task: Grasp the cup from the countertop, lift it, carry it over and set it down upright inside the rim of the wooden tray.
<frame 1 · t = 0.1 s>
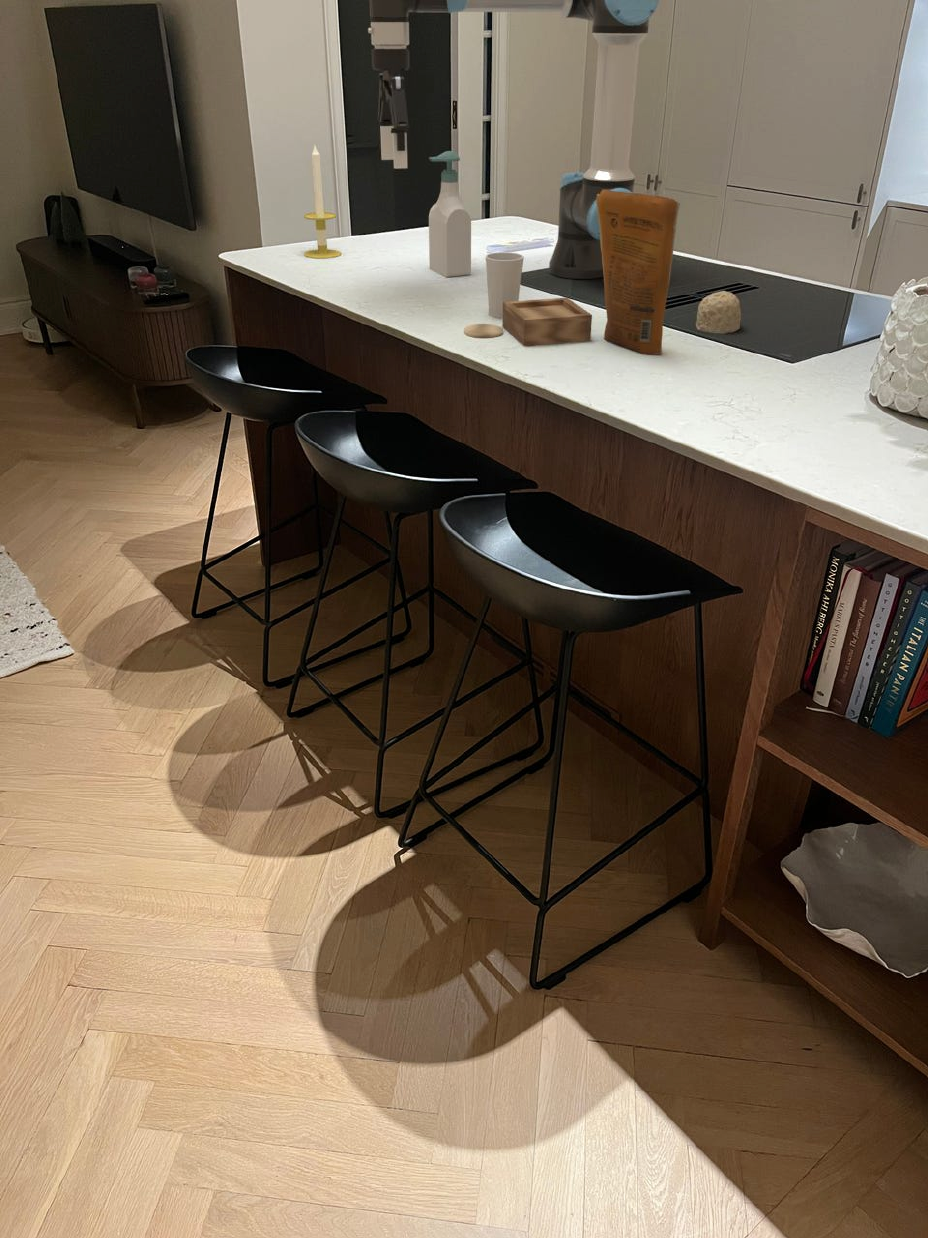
hand: (394, 163, 204), 28 cm above the countertop, fingers open, 13 cm apart
coaster: (483, 332, 196), on the countertop
wooden tray: (545, 333, 196), on the countertop
cup: (503, 315, 208), on the countertop
sponge: (716, 328, 200), on the countertop
soap bottle: (446, 272, 241), on the countertop
candle: (323, 255, 258), on the countertop
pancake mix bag: (628, 346, 189), on the countertop
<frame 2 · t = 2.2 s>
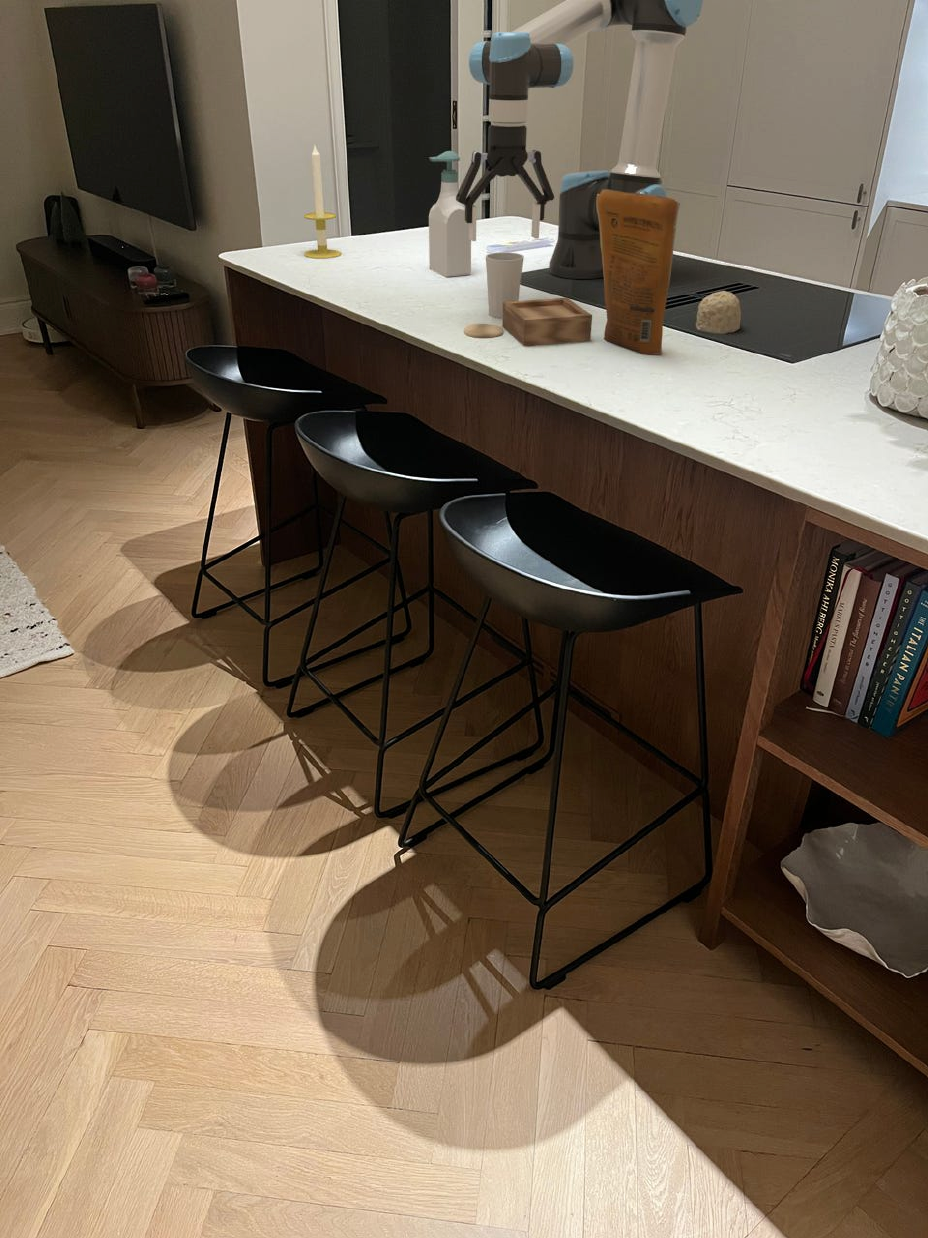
hand: (504, 238, 199), 15 cm above the countertop, fingers open, 13 cm apart
nothing on the countertop moved.
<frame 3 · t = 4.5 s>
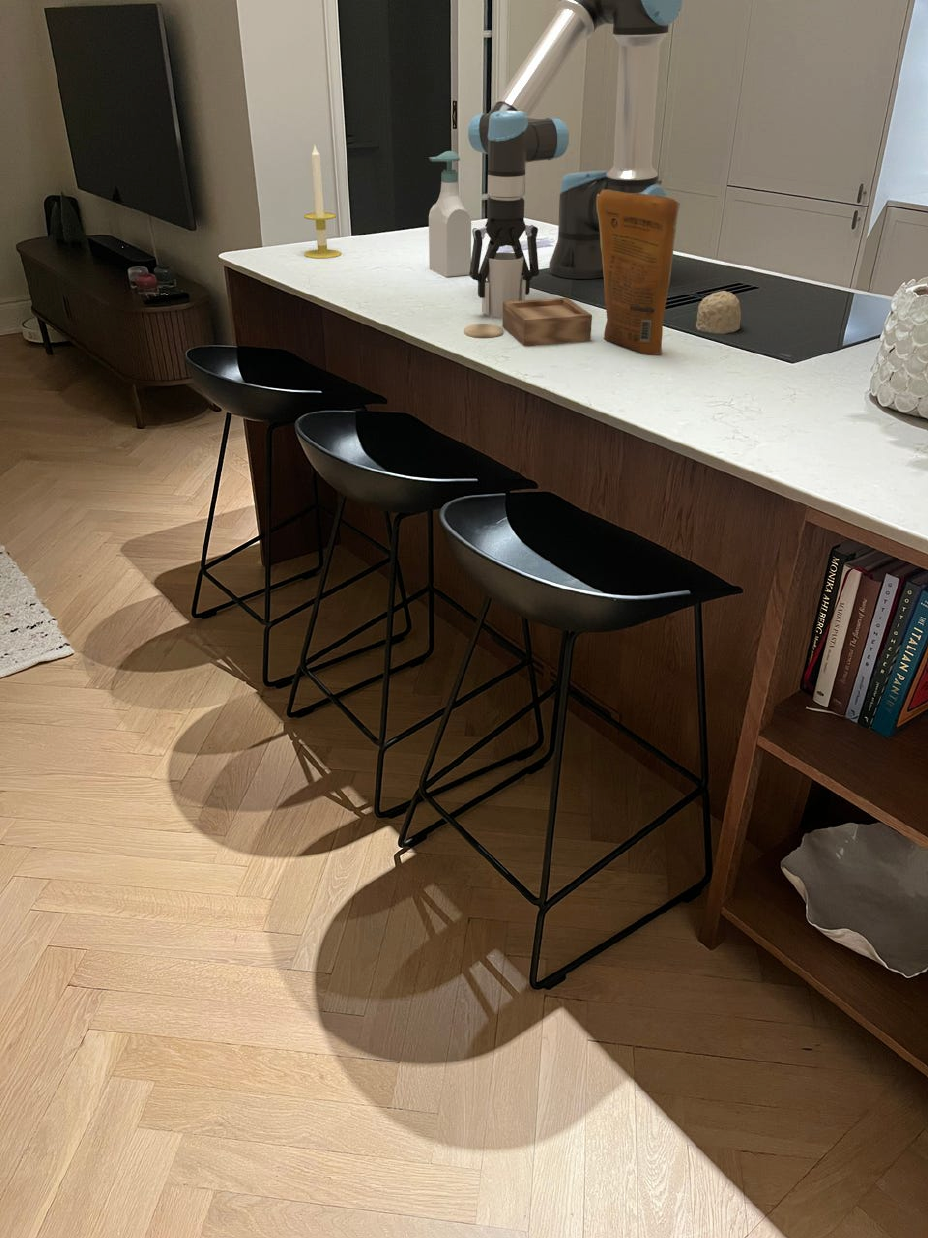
hand: (503, 311, 208), 1 cm above the countertop, fingers closed on cup, 7 cm apart
cup: (503, 315, 208), on the countertop, touching gripper
everything else where it was.
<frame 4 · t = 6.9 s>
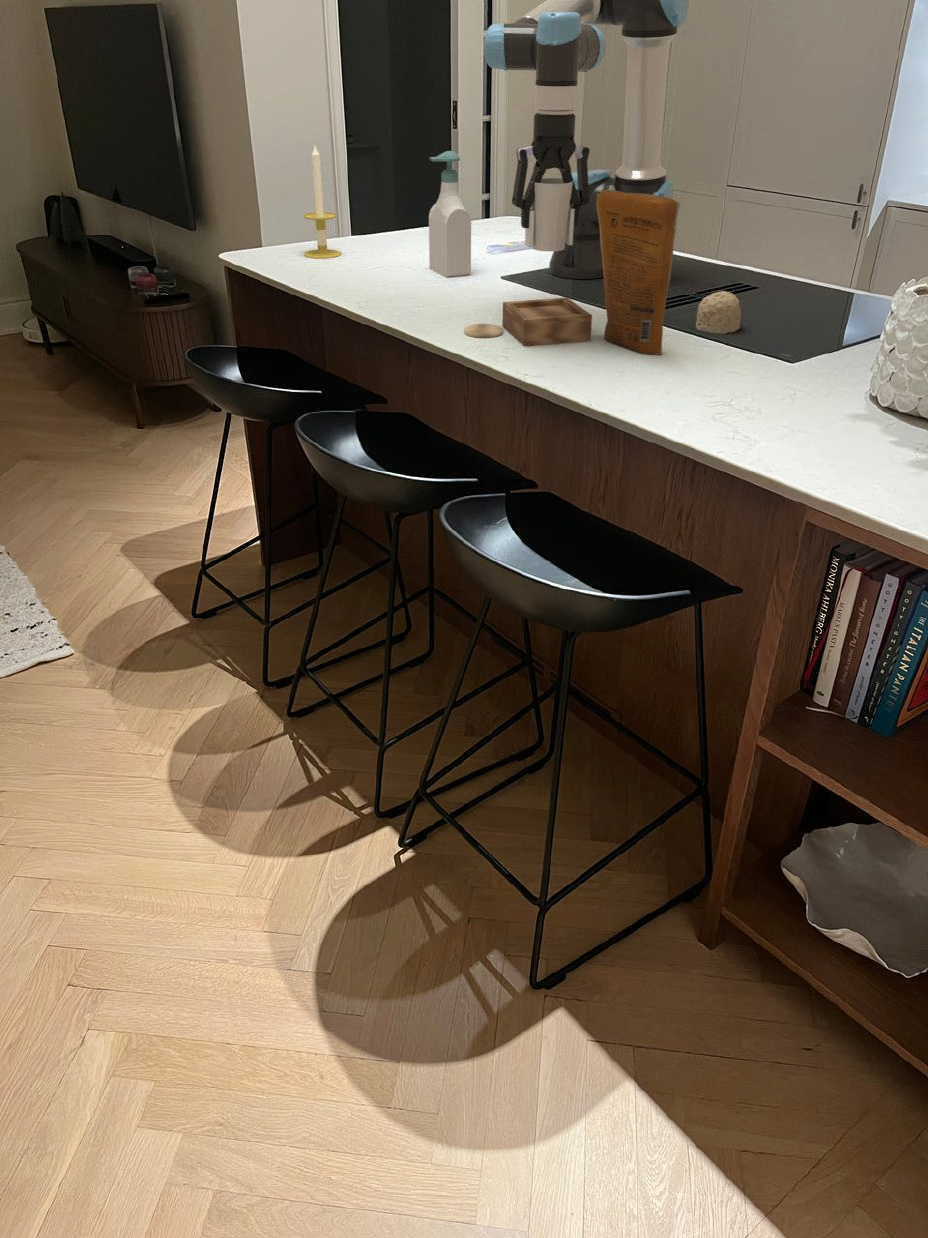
hand: (548, 244, 187), 17 cm above the countertop, fingers closed on cup, 7 cm apart
cup: (548, 248, 187), point 16 cm above the countertop, touching gripper
everything else where it was.
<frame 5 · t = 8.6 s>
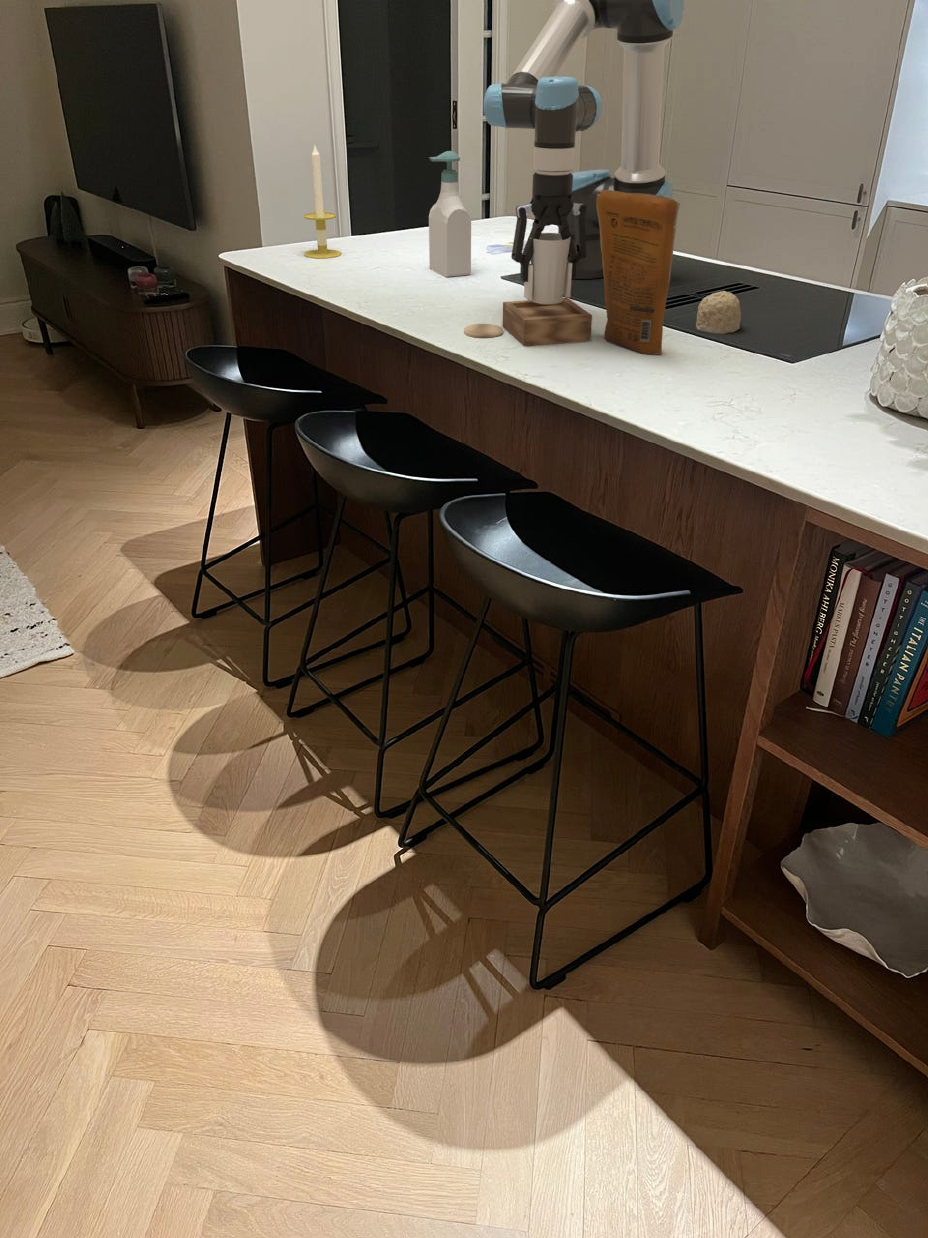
hand: (547, 296, 192), 7 cm above the countertop, fingers closed on cup, 7 cm apart
cup: (546, 301, 192), point 6 cm above the countertop, touching gripper
everything else where it was.
when the fingers open (6 cm above the countertop, at t = 9.7 s): cup drops 1 cm, resting on wooden tray.
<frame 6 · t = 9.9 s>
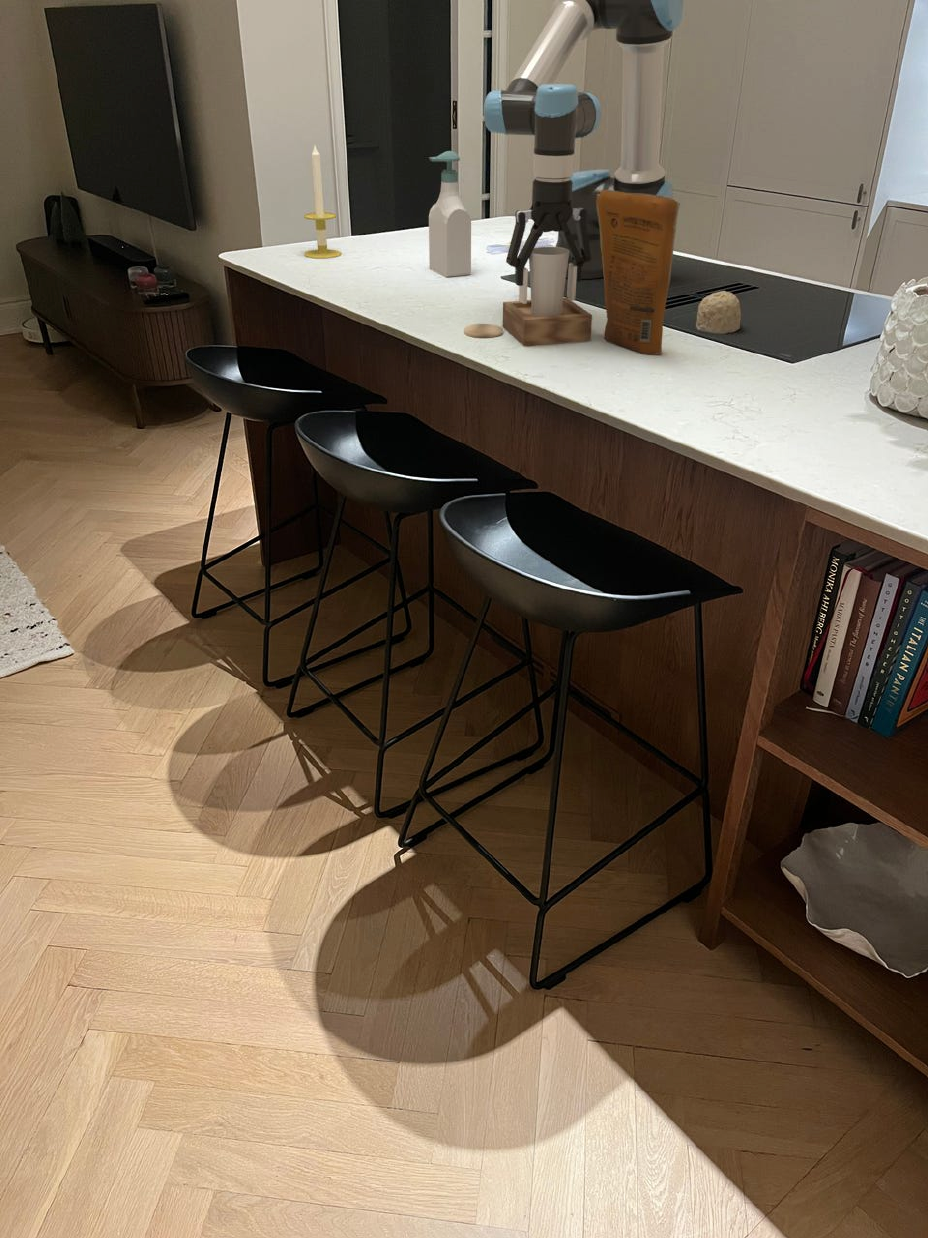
hand: (547, 300, 192), 7 cm above the countertop, fingers open, 9 cm apart
cup: (546, 314, 194), point 4 cm above the countertop, touching wooden tray
everything else where it was.
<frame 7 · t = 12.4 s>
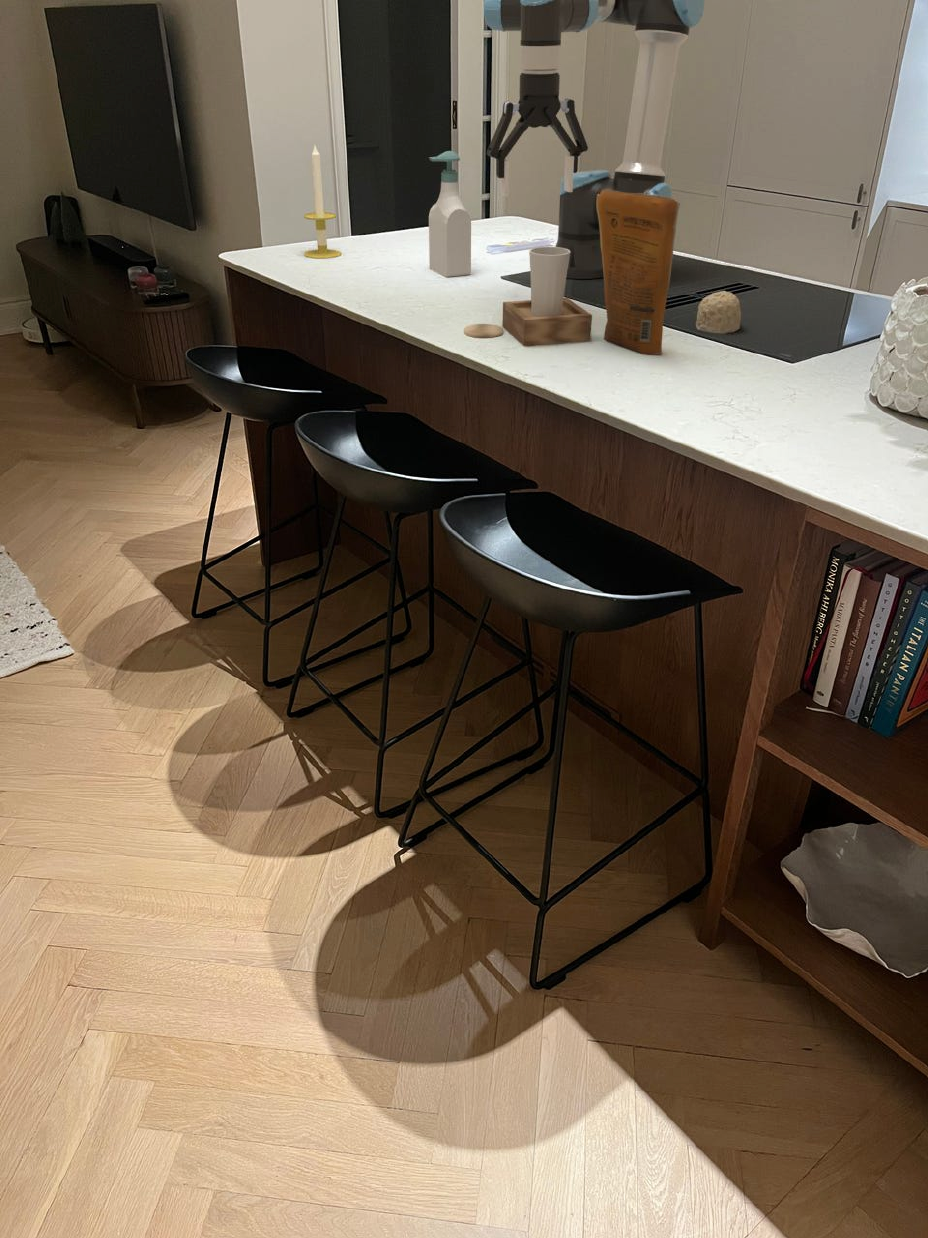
hand: (536, 193, 192), 25 cm above the countertop, fingers open, 13 cm apart
nothing on the countertop moved.
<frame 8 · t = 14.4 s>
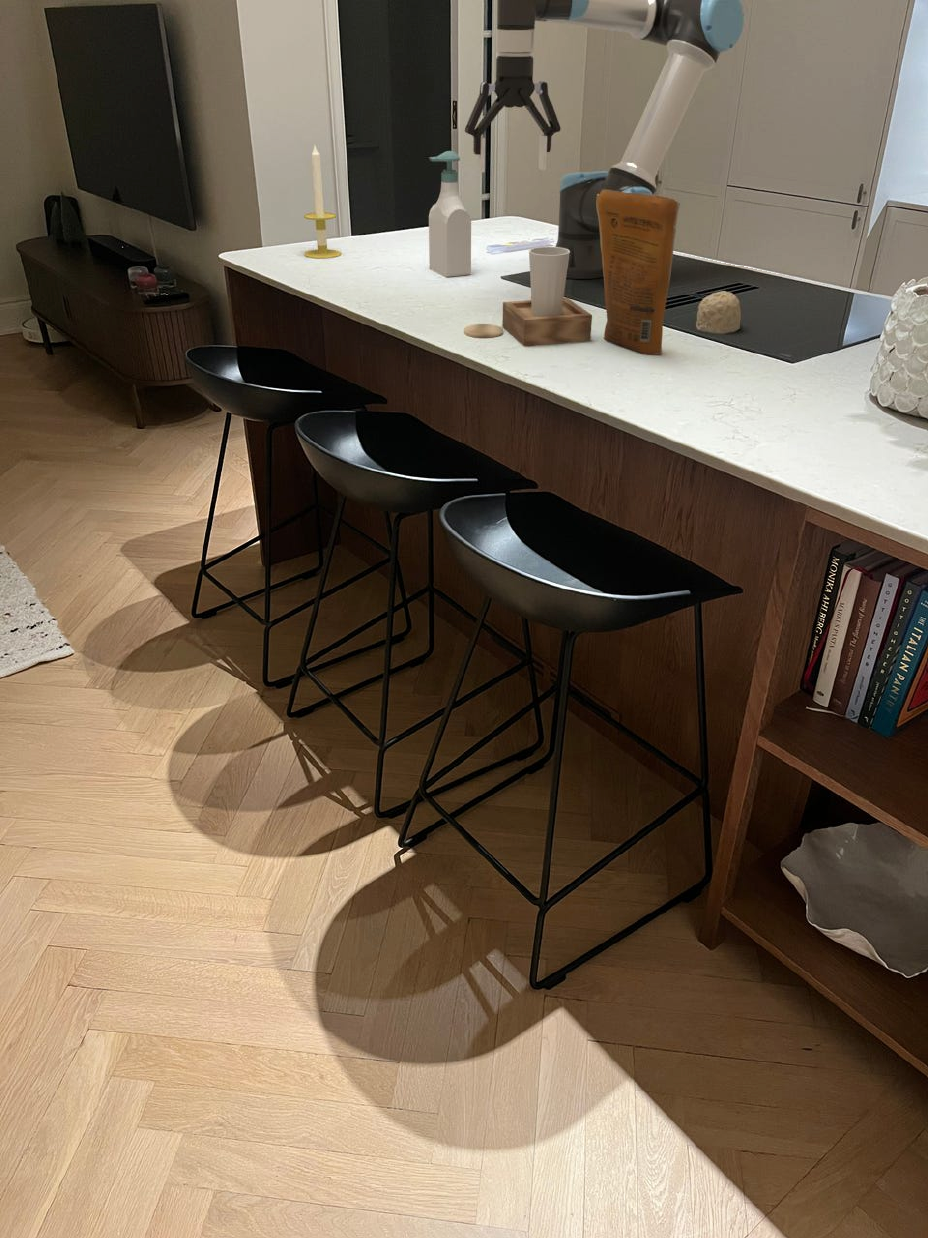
hand: (511, 170, 205), 27 cm above the countertop, fingers open, 13 cm apart
nothing on the countertop moved.
at the end: cup inside the target area on the wooden tray (0.1 cm from its centre), point 3.8 cm above the wooden tray's base; cup tilted 0°; the gripper is holding nothing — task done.
